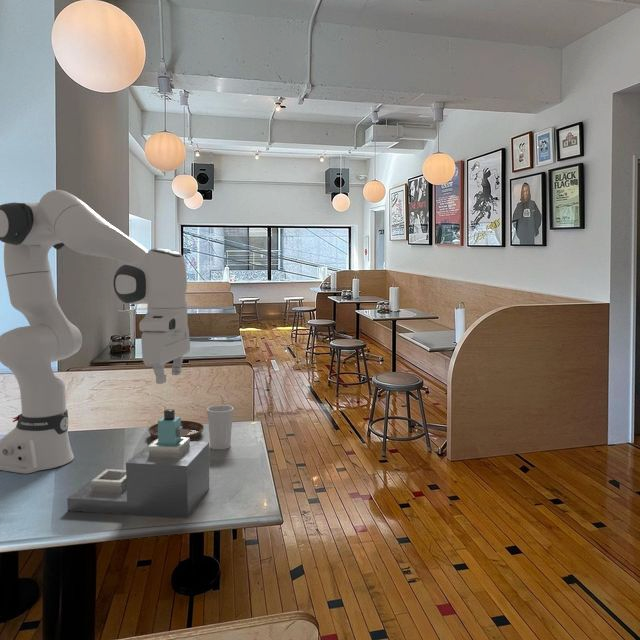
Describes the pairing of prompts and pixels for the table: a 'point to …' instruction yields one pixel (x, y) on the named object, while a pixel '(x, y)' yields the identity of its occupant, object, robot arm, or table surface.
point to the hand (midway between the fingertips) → (169, 378)
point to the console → (150, 483)
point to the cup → (220, 426)
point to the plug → (169, 429)
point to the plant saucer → (186, 429)
